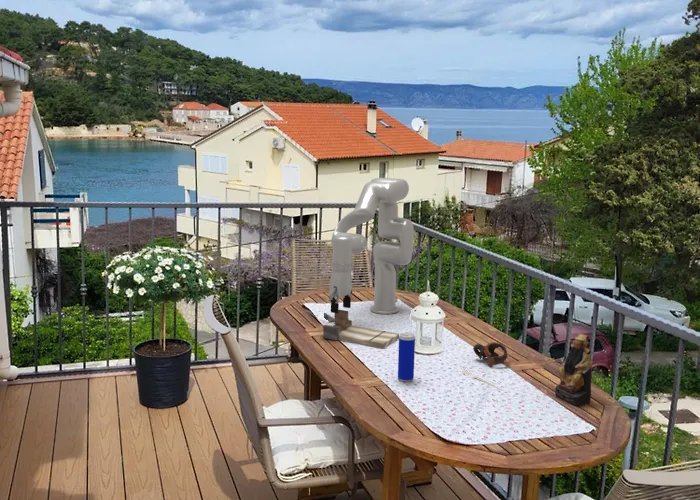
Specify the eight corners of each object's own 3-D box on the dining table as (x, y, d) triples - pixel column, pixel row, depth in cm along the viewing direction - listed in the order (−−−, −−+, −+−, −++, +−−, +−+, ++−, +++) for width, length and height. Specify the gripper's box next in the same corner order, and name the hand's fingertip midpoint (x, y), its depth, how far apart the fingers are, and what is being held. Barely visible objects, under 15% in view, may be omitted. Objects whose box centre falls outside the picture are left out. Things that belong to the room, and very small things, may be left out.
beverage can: (415, 377, 208) (416, 333, 205) (411, 383, 203) (413, 338, 200) (399, 375, 209) (401, 331, 207) (395, 380, 204) (397, 336, 202)
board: (341, 328, 259) (341, 323, 259) (399, 338, 247) (399, 333, 247) (323, 337, 247) (323, 332, 247) (383, 348, 235) (383, 343, 234)
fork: (503, 396, 196) (504, 390, 196) (459, 373, 212) (460, 368, 212) (511, 393, 198) (511, 388, 197) (467, 371, 214) (467, 366, 214)
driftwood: (338, 322, 268) (338, 318, 268) (323, 324, 265) (323, 319, 265) (318, 311, 286) (318, 306, 286) (304, 312, 283) (304, 308, 283)
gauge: (341, 327, 258) (342, 307, 256) (354, 330, 255) (355, 309, 253) (323, 337, 245) (323, 315, 243) (336, 340, 242) (336, 318, 240)
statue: (551, 394, 196) (555, 332, 193) (572, 391, 199) (577, 330, 195) (577, 410, 185) (582, 344, 181) (599, 406, 187) (604, 341, 184)
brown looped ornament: (505, 359, 227) (511, 344, 222) (500, 379, 220) (506, 363, 215) (473, 348, 230) (478, 332, 224) (466, 366, 223) (472, 351, 217)
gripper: (344, 263, 255) (343, 304, 258) (322, 269, 240) (321, 313, 243) (360, 265, 252) (359, 307, 255) (339, 272, 237) (338, 316, 240)
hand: (340, 310), depth 249 cm, fingers open, 9 cm apart
